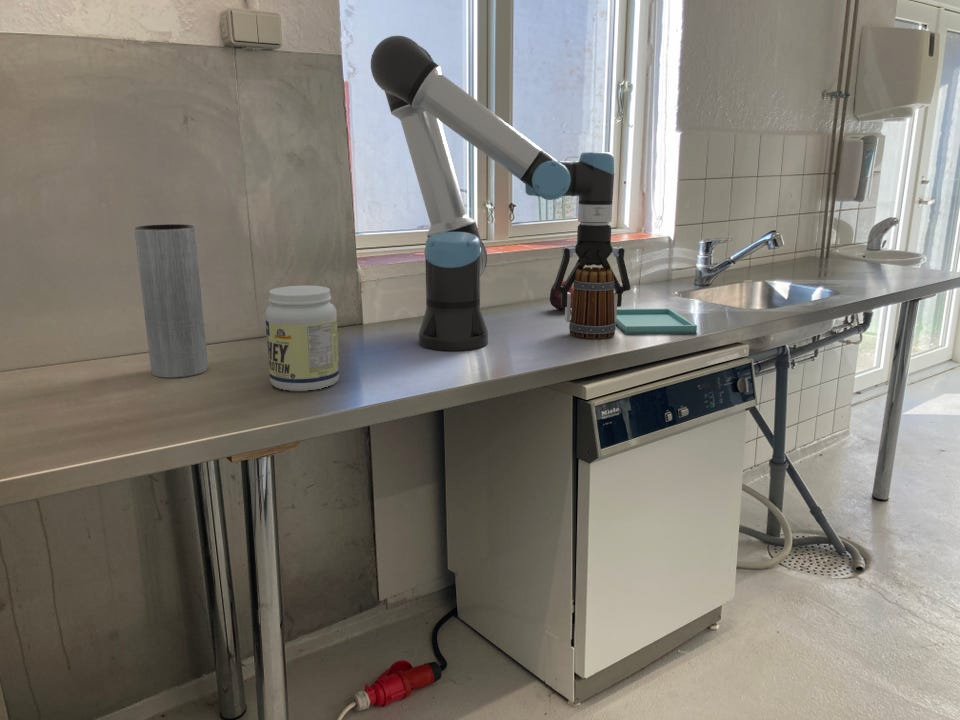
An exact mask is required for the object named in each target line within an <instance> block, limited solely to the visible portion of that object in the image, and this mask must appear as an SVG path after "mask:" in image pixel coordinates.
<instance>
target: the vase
mask: <svg viewBox="0 0 960 720" xmlns="http://www.w3.org/2000/svg"><path fill="white" fill-rule="evenodd" d="M195 229H196V228H195V226H194V225H192V224H173V223H171V224H170V223H169V224H168V223H167V224H149V225H147V224H146V225H140V226H135V228H134V229H133V230H134V238H135V247H136V252H137V254H136V255H137V262H138V272H139V278H140V281H139V282H140V287H141V295H142V304H143V311H144V312H143V314H144V321H145V329H146V338H147V339H146V340H147V345H148V346H147V347H148V354H149V362H150V369H151V370H150V371H151V374H152V375H153V376H155V377H158V378H162V379H176V378H177V379H179V378H186V377H187V378H188V377H192V376H196V375H201V374H202V373H204V372H206V371H207V370H208V369H209V359H208V352H207V351H208V350H207V340H206V330H205V319H204V318H205V317H204V311H203V310H204V307H203V300H202V290H201V288H202V287H201V279H200V277H201V276H200V271H199V269H200V268H199V258H198V250H197V240H196V239H197V238H196V237H197V236H196V230H195Z"/></svg>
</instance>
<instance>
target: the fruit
mask: <svg viewBox="0 0 960 720" xmlns="http://www.w3.org/2000/svg"><path fill="white" fill-rule="evenodd" d="M565 281H566V280H563V282H562V285H561V286H563V285H564V283H565ZM551 286H552V287H551V289H550V293H549V301H550V305H551V306H552V307H553V308H554V309H556V310H558V311H563V312H565V307H562V306H561V292H559V291H556V290H555V289H554V287H553V286H554V283H553V284H552V285H551ZM573 286H574V283H573V284H572V286H571V288H570V289H569V291H568V292H569V293H570V294H571V308H570V310H572V303H573V294H574V287H573Z"/></svg>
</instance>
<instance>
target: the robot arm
mask: <svg viewBox="0 0 960 720" xmlns="http://www.w3.org/2000/svg"><path fill="white" fill-rule="evenodd" d="M370 70H371V75H372V78H373V80H374V82H375V83H376V85H377V86H378V87H379V88H381V90H382V91H384V93H385V98H386V101H387V104H388V107H389V110H390V111H389V112H390V113H391V115H392V116H394V117H395V118H397V119H398V120H399V121H400V124H401V127H402V131H403V134H404V137H405V142H406V144H407V148H408V151H409V154H410V159H411V162H412V165H413V168H414V172H415V176H416V178H417V182H418V186H419V188H420V193H421V196H422V199H423V202H424V206H425V209H426V210H425V211H426V213H427V216H428V219H429V223H430V226H429V227H430V228H429V229H428V231H427V233H426V236H427V238H426V241H425V248H424V257H425V296H426V297H425V298H426V301H425V302H426V307H425V312H424V315H423V319H422V321H421V324H420V329H419V332H418V345H420V346H421V347H423V348H425V349H426V348H427V349H430V350H436V351H437V350H438V351H447V352H448V351H450V352H451V351H457V352H458V351H467V350H470V351H471V350H475V349H480V348H483V347H486V346H487V345H488V344H489V332H488V328H487V325H486V322H485V319H484V316H483V313H482V309H481V276H482V275H483V273H484V271H485V269H486V266H487V262H488V252H487V249H486V246H485V244H484V242H483V241H482V240H481V236H480V233H479V229H478V225H477V221H476V220H475V219H473V218H471V217H470V216H469V215H468V214H467V211H466V207H465V203H464V200H463V196H462V192H461V190H460V189H461V188H460V185H459V181H458V179H457V178H458V177H457V175H456V171H455V167H454V163H453V160H452V157H451V153H450V149H449V145H448V142H447V139H446V134H445V131H444V128H443V124H444V125H445V126H447V127H448V128H449V129H450V130H451V131H453V132H455V133H456V134H457V135H458V136H460V137H461V138H462V139H464V140H466V141H467V143H469V144H471V145H472V146H473V147H475V148H476V149H478V150H479V151H480V152H482V153H483V154H484V155H486V156H487V157H488V158H490V159H491V160H492V161H494V162H495V163H496V164H498V165H499V166H501V167H502V168H503V169H504V170H506V172H507V171H508V172H509V173H510V174H512V175H513V176H514V177H516V178H517V179H518V180H519V181H521V182H522V183H523V184H524V186H525V188H524V189H525V190H524V191H525V193H526V195H527V196H531V197H532V196H533V197H539V198H542V199H543V200H546V201H552V200H553V201H554V200H558V199H560V198H562V197H578V207H577V208H578V210H577V221H578V223H579V224H578V225H577V233H576V235H577V236H576V245H575V246H574V247H567V246H564V247H563V248H562V259H561V262H560V265H559V269H558V271H557V275H556V278H555V280H554V283H553V284H554V286H553V285H552V286H553V287H554V289H555V290H556V291H559V292H561V306H562V307H565V311H564V321H565V322H566V323H570V320H571V309H572V308H571V294H570V293H569V292H568V291H569V289H570V288H571V286H572V284H573V283H574V279H575V274H576V270H577V269H579V270H582V269H583V268H585V266H586V267H590V266H600V267H601V268H605V270H606V271H607V269H611V270H613V269H612V267H611V265H610V263H609V261H608V258H609V257H610V256H611V254H613V257H615V258H616V260H615V261H616V264H617V268H618V272H619V275H620V280H621V281H620V282H621V284H622V285H621V284H620V282H619V281H618V278H617V277H616V275H615V273H614V272H613V276H614V285H615V288H614V316H615V322H616V316H617V309H618V308H621V306H622V298H623V297H622V296H623V293H624V292H626V291H631V288H632V287H631V285H630V284H631V283H630V279H629V275H628V271H627V267H626V263H625V258H624V257H625V249H624V247H621V246H619V247H613V246H612V243H611V241H612V226H611V224H609V223H612V221H613V220H612V219H613V200H614V198H613V197H614V183H615V156H614V155H613V153H611V152H608V151H606V152H604V151H603V152H602V151H594V152H592V151H591V152H589V151H586V152H585V151H584V152H581V153H580V155H579V156H580V157H579V160H576V161H558V160H557V159H555V157H554V156H551V155H550V154H549V153H548V152H546V151H545V150H543V149H542V148H541V147H540V146H538V145H537V144H535V142H533V141H531V140H530V139H529V138H528V137H526V136H525V135H524V134H522V133H521V132H520V131H518V130H517V129H516V128H514V127H513V126H512V125H510V124H509V123H508V122H506V121H505V120H503V119H502V118H501V117H500V116H499V115H497V114H495V113H494V112H493V111H491V110H490V109H488V107H486V106H485V105H484V104H482V103H481V102H479V101H478V100H477V99H475V98H474V97H473V96H471V95H470V94H469V93H467V92H466V91H465V90H464V89H462V88H461V87H460V86H458V85H457V84H455V83H454V82H453V81H451V80H450V79H449V78H447V77H446V76H444V75H443V73H442V68H441V66H440V65H439V64H438V63H436V62H435V61H434V59H433V58H432V57H431V54H429V52H428V51H427V50H426V49H425V48H424V47H422V46H420V44H418V43H417V42H416V41H415V40H413V39H412V38H409V37H407V36H404V35H391V36H388V37H386V38H384V39H382V40H381V41H380V42H379V43H378V44H377V45H376V47H375V48H374V50H373V52H372V54H371V58H370ZM574 254H576V255H577V257H578V260H577V261H576V263H575V265H574V267H573V268H572V270H571V272H570V274H569V275H568V276H567V278H566V280H564V278H565V275H566V272H567V269H568V266H569V264H570V259H571V258H572V257H573V255H574ZM563 281H565V283H564V285H563V286H561V285H562V282H563ZM570 308H571V309H570Z"/></svg>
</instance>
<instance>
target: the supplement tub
mask: <svg viewBox="0 0 960 720" xmlns="http://www.w3.org/2000/svg"><path fill="white" fill-rule="evenodd" d="M268 297H269V298H268V302H270V305H268V306H267V308H266V310H265V312H264V314H265V315H264V318H265V319H264V320H265V332H266V344H267V360H268V371H269V373H268V374H269V376H268V377H269V381H270V383H271V385H272V386H273V387H275V388H276V389H278V388H279V389H278V390H281V389H283V390H282V391H285V390H290V391H289V392H307V391H306V390H314V389H320V388H324V387H327V388H329V387H328V386H330V387H332V386H333V385H335V384H336V383H337V382H338V381H339V379H340V359H339V354H340V353H339V336H338V316H337V315H338V312H337V308H336V307H335V305H334V304H332V302H331V301H330V300H331V299H332V296H331V288H329V287H326V286H321V285H305V284H304V285H287V286H281V287H275V288H272V289H270V290H269V291H268ZM331 385H332V386H331ZM324 389H325V388H324ZM320 390H321V389H320ZM314 391H315V390H314Z"/></svg>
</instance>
